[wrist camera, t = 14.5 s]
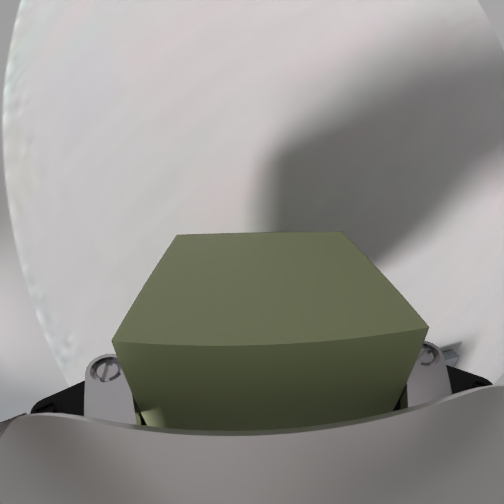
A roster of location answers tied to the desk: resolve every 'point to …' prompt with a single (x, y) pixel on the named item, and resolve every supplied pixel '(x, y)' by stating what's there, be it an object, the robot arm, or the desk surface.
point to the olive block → (266, 334)
